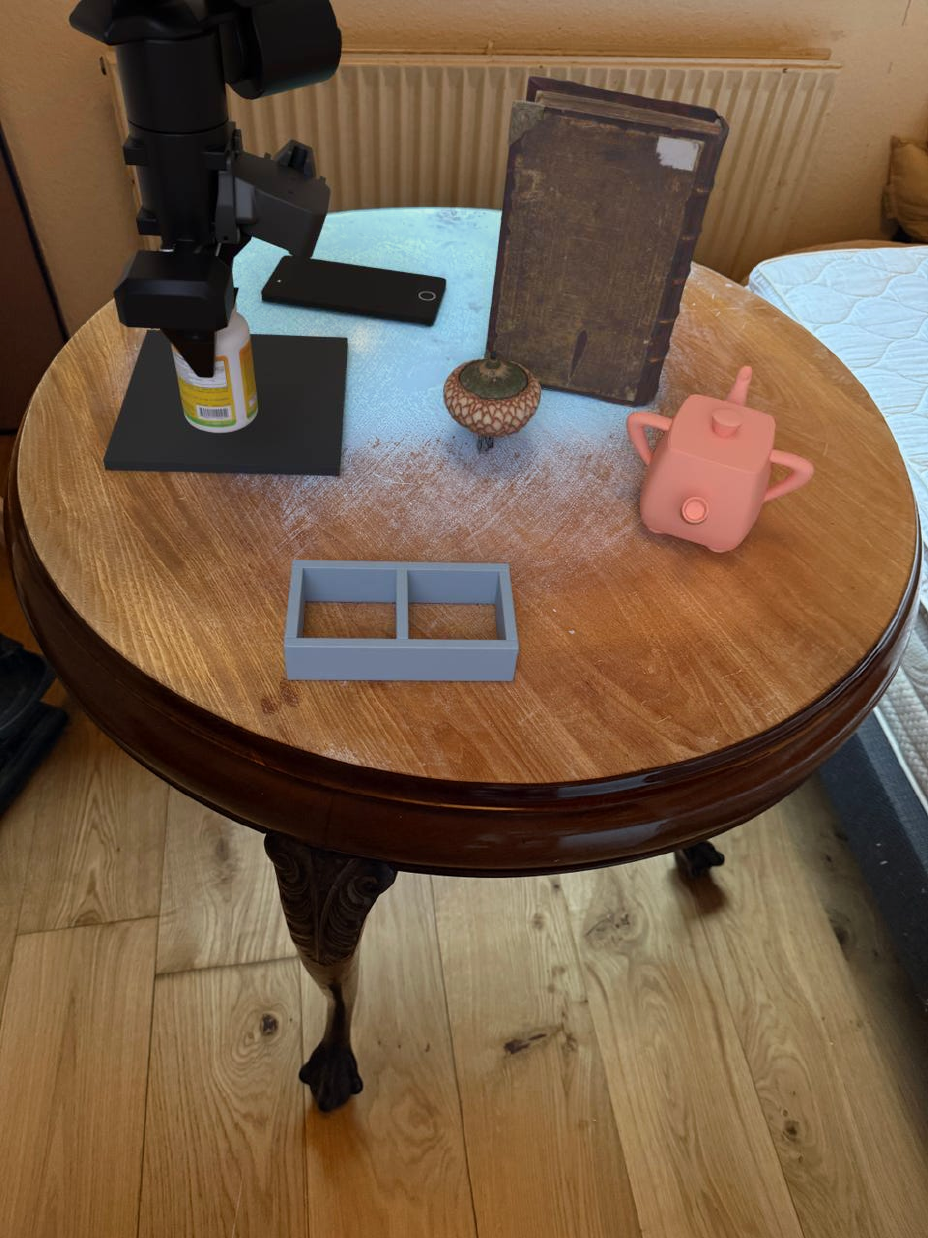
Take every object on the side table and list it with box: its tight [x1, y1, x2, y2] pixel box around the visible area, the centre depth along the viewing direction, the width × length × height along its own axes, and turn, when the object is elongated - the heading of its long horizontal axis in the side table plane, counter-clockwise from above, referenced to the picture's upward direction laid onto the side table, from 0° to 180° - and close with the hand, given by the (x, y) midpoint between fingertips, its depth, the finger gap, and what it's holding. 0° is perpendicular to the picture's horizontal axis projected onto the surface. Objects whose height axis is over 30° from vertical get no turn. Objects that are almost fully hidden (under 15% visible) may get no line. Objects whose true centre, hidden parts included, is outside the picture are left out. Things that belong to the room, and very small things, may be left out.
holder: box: [283, 559, 520, 682], centre depth 64 cm, size 15×8×4 cm, turn 93°
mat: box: [102, 329, 349, 477], centre depth 83 cm, size 19×20×1 cm
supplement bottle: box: [171, 300, 258, 433], centre depth 65 cm, size 5×5×10 cm
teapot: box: [625, 365, 815, 554], centre depth 73 cm, size 14×12×10 cm
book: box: [483, 74, 730, 408], centre depth 80 cm, size 17×7×25 cm, turn 71°
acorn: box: [442, 350, 542, 454], centre depth 77 cm, size 8×8×10 cm
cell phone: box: [260, 254, 447, 327], centre depth 97 cm, size 9×18×1 cm, turn 81°
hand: (212, 353), depth 65 cm, fingers closed on supplement bottle, 5 cm apart
